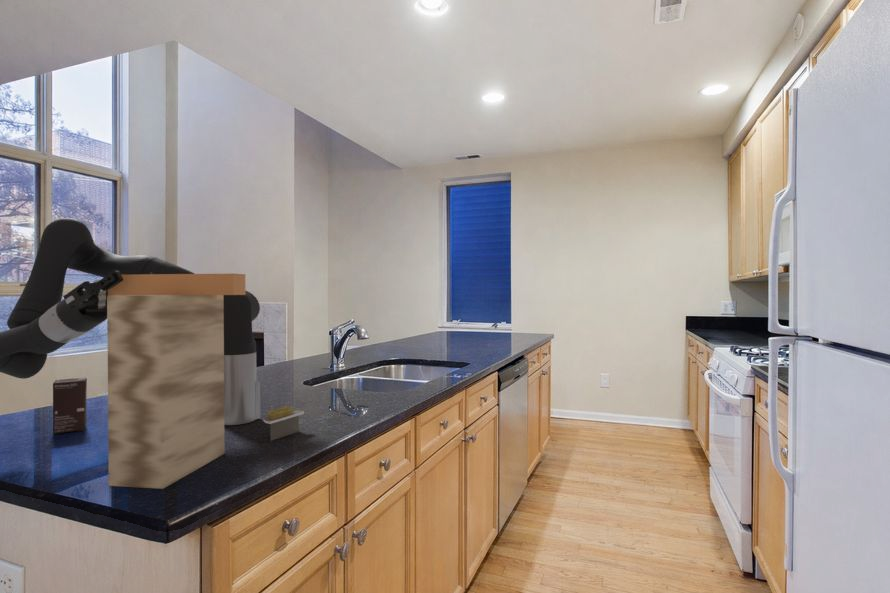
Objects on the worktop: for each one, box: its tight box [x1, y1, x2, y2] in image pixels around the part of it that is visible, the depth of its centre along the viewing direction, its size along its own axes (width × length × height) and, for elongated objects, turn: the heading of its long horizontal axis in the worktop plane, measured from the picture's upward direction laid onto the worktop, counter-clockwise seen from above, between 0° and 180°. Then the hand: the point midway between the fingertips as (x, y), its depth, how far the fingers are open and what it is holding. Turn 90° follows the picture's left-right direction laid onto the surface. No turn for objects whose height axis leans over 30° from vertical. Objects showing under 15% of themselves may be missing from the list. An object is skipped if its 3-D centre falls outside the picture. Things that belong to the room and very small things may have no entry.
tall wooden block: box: [106, 295, 226, 490], centre depth 86 cm, size 10×17×32 cm, turn 173°
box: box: [52, 377, 88, 435], centre depth 110 cm, size 6×4×12 cm
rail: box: [108, 273, 246, 295], centre depth 90 cm, size 26×4×4 cm, turn 83°
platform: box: [262, 405, 305, 442], centre depth 106 cm, size 12×18×7 cm, turn 151°
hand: (137, 275), depth 91 cm, fingers open, 8 cm apart
